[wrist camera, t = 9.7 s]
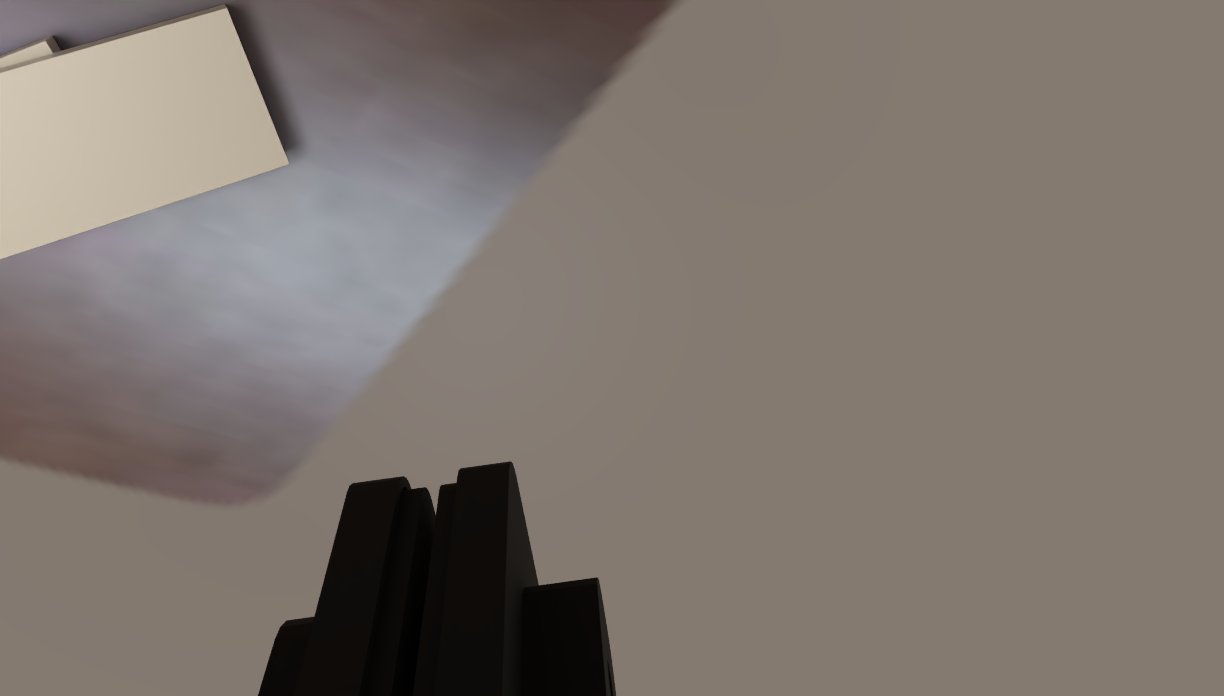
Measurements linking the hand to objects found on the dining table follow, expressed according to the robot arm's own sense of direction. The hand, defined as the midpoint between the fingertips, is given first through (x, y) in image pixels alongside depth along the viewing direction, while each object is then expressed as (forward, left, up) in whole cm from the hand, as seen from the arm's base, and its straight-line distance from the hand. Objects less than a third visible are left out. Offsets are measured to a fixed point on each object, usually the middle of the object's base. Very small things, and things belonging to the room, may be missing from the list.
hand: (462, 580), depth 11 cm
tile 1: (+8, 0, -26) cm, 27 cm away
